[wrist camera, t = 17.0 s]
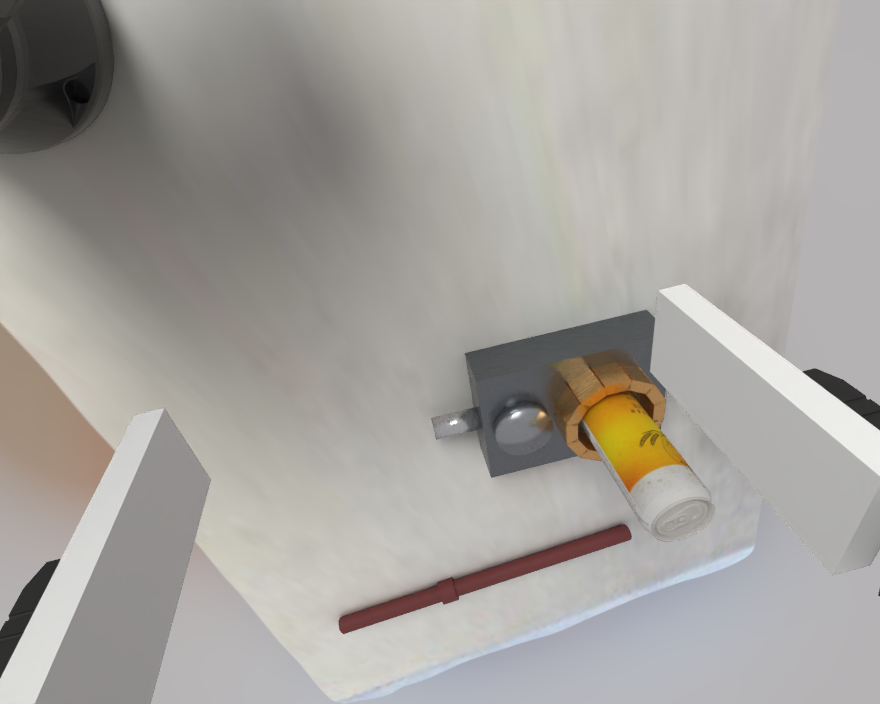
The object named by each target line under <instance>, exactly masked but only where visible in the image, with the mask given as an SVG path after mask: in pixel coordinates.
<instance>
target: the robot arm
mask: <svg viewBox="0 0 880 704" xmlns="http://www.w3.org/2000/svg"><path fill="white" fill-rule="evenodd" d="M112 77H113V49H112V42H111V37H110V32H109V28H108V25H107V21H106V18H105V15H104V12H103V9H102V7H101V4H100V2H99V0H0V153H2V154H18V153H29V152H35V151H40V150H44V149H47V148H50V147H53V146H55V145H58V144H60V143H62V142H64V141H67V140H69V139H71V138H73V137H75V136H76V135H78V134H80V133H81V132H82V131H84V130H85V129H86V128H87V127H88V126H90V125H91V123H92V122H93V121H94V120H95V119H96V118H97V116H98V115H99V114H100V112H101V110H102V109H103V107H104V105H105V103H106V100H107V98H108V95H109V92H110V88H111V83H112ZM650 372H651V373H652V374H653V375H654V377H655V378H656V379H657V380H658V381H659V382H660V383H661V384H662V385H663V387H664V388H665V389H666V390H667V391H668V392H669V393H670V394H671V396H672V397H673V398H674V399H675V400H676V401H677V402H678V403H679V404H680V406H681V407H682V408H683V409H684V410H685V411H686V412H687V413H688V415H689V416H690V417H691V418H692V419H693V420H694V421H695V422H696V423H697V425H698V426H699V427H700V428H701V429H702V430H703V431H704V432H705V434H706V435H707V436H708V437H709V438H710V439H711V440H712V441H713V442H714V444H715V445H716V446H717V447H718V448H719V449H720V450H721V451H722V453H723V454H724V455H725V456H726V457H727V458H728V459H729V460H730V461H731V463H732V464H733V465H734V466H735V467H736V468H737V469H738V470H739V472H740V473H741V474H742V475H743V476H744V477H745V478H746V479H747V480H748V482H749V483H750V484H751V485H752V486H753V487H754V488H755V489H756V491H757V492H758V493H759V494H760V495H761V496H762V497H763V498H764V499H765V501H766V502H767V503H768V504H769V505H770V506H771V507H772V508H773V510H774V511H775V512H776V513H777V514H778V515H779V516H780V517H781V518H782V519H783V521H784V522H785V523H786V524H787V525H788V526H789V527H790V529H791V530H792V531H793V532H794V533H795V534H796V535H797V536H798V537H799V538H800V540H801V541H802V542H803V543H804V544H805V545H806V546H807V548H808V549H809V550H810V551H811V552H812V553H813V554H814V555H815V556H816V558H817V559H818V560H819V561H820V562H821V563H822V564H823V565H824V567H825V568H826V569H827V570H828V571H829V572H830V573H831V574H832V575H837V574H840V573H844V572H848V571H851V570H855V569H859V568H862V567H866V566H870V565H871V564H872V562H873V560H874V558H875V557H876V555H877V553H878V552H879V550H880V406H879V405H878V404H877V403H875V402H873V401H872V400H871V399H870V400H867V399H866V396H865V395H864V394H862V393H861V392H859V391H858V390H857V389H855V388H854V387H853V386H851V385H850V384H848V383H847V382H845V381H844V380H842V379H840V378H837V377H835V376H832V375H830V374H827V373H825V372H823V371H820V370H818V369H811V370H807V371H803V372H801V371H800V370H799V369H798V368H796V367H795V366H794V365H792V364H791V363H790V362H788V361H787V360H786V359H784V358H783V357H782V356H780V355H779V354H778V353H776V352H775V351H774V350H772V349H771V348H770V347H768V346H767V345H766V344H764V343H763V342H762V341H760V340H759V339H758V338H756V337H755V336H754V335H752V334H751V333H750V332H749V331H747V330H746V329H745V328H743V327H742V326H741V325H739V324H738V323H737V322H735V321H734V320H733V319H731V318H730V317H729V316H727V315H726V314H725V313H723V312H722V311H721V310H719V309H718V308H717V307H715V306H714V305H713V304H711V303H710V302H709V301H707V300H706V299H705V298H703V297H702V296H701V295H699V294H698V293H697V292H696V291H694V290H693V289H692V288H690V287H689V286H688V285H686V284H682V285H678V286H674V287H670V288H666V289H661V290H658V296H657V306H656V316H655V326H654V336H653V346H652V356H651V366H650ZM210 481H211V479H210V477H209V476H208V474H207V473H206V471H205V470H204V468H203V467H202V465H201V463H200V462H199V460H198V459H197V457H196V456H195V454H194V453H193V451H192V450H191V448H190V446H189V445H188V443H187V442H186V440H185V439H184V437H183V436H182V434H181V433H180V431H179V429H178V428H177V426H176V425H175V423H174V422H173V420H172V419H171V417H170V416H169V414H168V412H167V411H166V409H165V408H161V409H157V410H153V411H149V412H145V413H140V414H136V415H134V416H133V418H132V420H131V422H130V424H129V426H128V428H127V430H126V432H125V434H124V436H123V438H122V440H121V442H120V444H119V446H118V448H117V450H116V452H115V454H114V456H113V458H112V460H111V462H110V464H109V466H108V467H107V470H106V471H105V474H104V475H103V477H102V479H101V481H100V483H99V485H98V487H97V489H96V491H95V493H94V495H93V497H92V499H91V501H90V503H89V505H88V507H87V509H86V511H85V513H84V515H83V517H82V519H81V521H80V523H79V525H78V527H77V528H76V530H75V532H74V534H73V536H72V538H71V540H70V542H69V544H68V546H67V548H66V550H65V552H64V554H63V556H62V558H61V559H58V560H54V561H50V562H47V563H46V564H45V565H44V566H43V567H42V568H41V569H40V571H39V572H38V573H37V574H36V575H35V576H34V577H33V578H32V580H31V581H30V582H29V583H28V584H27V585H26V586H25V588H24V589H23V590H22V592H21V594H20V596H19V598H18V600H17V601H16V603H15V605H14V607H13V609H12V611H11V612H10V614H9V620H8V621H6V622H5V623H4V625H3V627H2V629H1V631H0V704H150V703H151V700H152V696H153V693H154V689H155V685H156V682H157V678H158V674H159V670H160V667H161V663H162V659H163V656H164V652H165V648H166V644H167V640H168V637H169V633H170V630H171V626H172V622H173V618H174V615H175V611H176V607H177V603H178V600H179V596H180V593H181V589H182V585H183V581H184V577H185V574H186V570H187V567H188V563H189V559H190V555H191V552H192V548H193V544H194V541H195V537H196V533H197V530H198V526H199V522H200V518H201V515H202V511H203V507H204V504H205V500H206V496H207V492H208V489H209V485H210ZM879 596H880V590H879Z"/></svg>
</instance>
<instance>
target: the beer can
mask: <svg viewBox="0 0 880 704" xmlns="http://www.w3.org/2000/svg"><path fill="white" fill-rule="evenodd" d="M579 423H580V424H581V426H582V428H583V429H584V431H585V433H586V434H587V436H588V438H589V439H590V441H591V443H592V444H593V446H594V447H595V449H596V451H597V452H598V454H599V456H600V457H601V459H602V461H603V462H604V464H605V465H606V467H607V469H608V470H609V472H610V474H611V475H612V477H613V479H614V480H615V482H616V484H617V485H618V487H619V488H620V490H621V492H622V493H623V495H624V497H625V498H626V500H627V502H628V503H629V505H630V506H631V508H632V510H633V511H634V513H635V515H636V516H637V518H638V520H639V521H640V523H641V525H642V526H643V528H644V529H645V530H647V531H648V532H650V533H651V534H653V535H654V536H655V537H656V538H657V539H658V540H661V541H665V542H673V541H679V540H682V539H685V538H688V537H690V536H692V535H694V534H696V533H697V532H699V531H700V530H702V529H703V528H704V527H705V526H706V525H707V524H708V523H709V522H710V521H711V519H712V517H713V515H714V511H715V508H714V505H713V504H712V500H711V495H710V492H709V490H708V489H707V488H706V487H705V485H704V484H703V483H702V482H701V480H700V479H699V478H698V477H697V475H696V474H695V473H694V471H693V470H692V469H691V468H690V466H689V465H688V464H687V463H686V461H685V460H684V459H683V458H682V456H681V455H680V454H679V453H678V451H677V450H676V449H675V448H674V446H673V445H672V444H671V443H670V441H669V440H668V439H667V438H666V436H665V435H664V434H663V433H662V431H661V430H660V429H659V428H658V426H657V425H656V424H655V423H654V421H653V420H652V419H651V418H650V416H649V415H648V414H647V412H646V411H645V410H644V409H643V407H642V406H641V405H640V404H639V402H638V401H637V400H636V399H635V397H634V396H633V395H632V394H631V392H630V391H629V390H627V391H622V392H618V393H614V394H610V395H607V396H605V397H604V398H602V399H601V400H599V401H598V402H597V403H595V404H594V405H592V406H591V407H589V408H588V410H587V411H586V413H585V414H584V416H583V417H582V419H581V421H580V422H579Z"/></svg>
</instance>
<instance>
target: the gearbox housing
mask: <svg viewBox="0 0 880 704" xmlns="http://www.w3.org/2000/svg"><path fill="white" fill-rule="evenodd" d="M654 326H655V318H654V317H653V316H652V315H651V314H650V313H649V312H648V311H647V310H644V311H640V312H636V313H632V314H628V315H623V316H619V317H615V318H611V319H607V320H603V321H598V322H594V323H590V324H586V325H582V326H578V327H573V328H569V329H565V330H561V331H557V332H553V333H548V334H544V335H540V336H536V337H532V338H528V339H523V340H519V341H515V342H511V343H507V344H502V345H498V346H494V347H490V348H486V349H482V350H477V351H473V352H469V353H465V357H466V363H467V369H468V375H469V381H470V387H471V393H472V399H473V405H474V408H470V409H466V410H462V411H458V412H454V413H450V414H445V415H441V416H437V417H433V418H431V419H432V423H433V428H434V432H435V436H436V440H438V439H442V438H446V437H450V436H454V435H458V434H462V433H466V432H470V431H474V430H478V434H479V440H480V446H481V449H482V452H483V455H484V458H485V461H486V464H487V467H488V470H489V473H490V476H491V478H492V477H496V476H500V475H504V474H508V473H512V472H516V471H519V470H523V469H527V468H531V467H535V466H539V465H543V464H547V463H551V462H555V461H559V460H563V459H567V458H571V457H575V456H579V457H581V458H585V459H592V460H598V461H601V460H602V459H601V457H600V456H599V454H598V452H597V451H596V449H595V447H594V446H593V444H592V443H591V441H590V439H589V438H588V436H587V434H586V433H585V431H584V429H583V428H582V426H581V424H580V423H579V422H580V421H581V419H582V417H583V416H584V414H585V413H586V411H587V410H588V408H589V407H591V406H592V405H594V404H595V403H597V402H598V401H599V400H601V399H602V398H604V397H605V396H607V395H610V394H614V393H618V392H622V391H627V390H629V391H630V392H631V394H632V395H633V396H634V397H635V399H636V400H637V401H638V402H639V404H640V405H641V406H642V407H643V409H644V410H645V411H646V412H647V414H648V415H649V416H650V418H651V419H652V420H653V421H654V423H655V424H656V425H657V426H658V428H659V429H661V423H662V422H663V420H664V413H665V405H666V399H665V398H664V397H665V388H664V387H663V385H662V384H661V383H660V382H659V381H658V380H657V379H656V378H655V377H654V375H653V374H652V373H651V372H650V366H651V356H652V346H653V336H654Z"/></svg>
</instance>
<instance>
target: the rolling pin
mask: <svg viewBox="0 0 880 704" xmlns="http://www.w3.org/2000/svg"><path fill="white" fill-rule="evenodd" d="M631 538H632V536H631V533H630V530H629V528H628V527H627V526H626V525H625V524H623V525H620V526H617V527H614V528H611V529H608V530H605V531H602V532H599V533H596V534H593V535H590V536H587V537H584V538H581V539H578V540H575V541H572V542H569V543H566V544H563V545H559V546H556V547H553V548H550V549H547V550H544V551H541V552H538V553H535V554H532V555H529V556H526V557H523V558H520V559H517V560H514V561H511V562H508V563H505V564H502V565H499V566H496V567H493V568H490V569H487V570H483V571H480V572H477V573H474V574H471V575H468V576H465V577H462V578H459V579H456V580H453V578H449V579H446V580H443V581H440V582H438V586H435V587H432V588H429V589H426V590H423V591H420V592H417V593H414V594H411V595H407V596H404V597H401V598H398V599H395V600H392V601H389V602H386V603H383V604H380V605H377V606H374V607H371V608H368V609H365V610H362V611H359V612H356V613H353V614H350V615H347V616H344V617H341V618H340V619H339V629H340V631H341V633H343V634H345V633H348V632H351V631H354V630H357V629H360V628H363V627H366V626H369V625H373V624H376V623H379V622H382V621H385V620H388V619H391V618H394V617H397V616H400V615H403V614H406V613H409V612H412V611H415V610H418V609H421V608H424V607H427V606H430V605H433V604H436V603H440V602H443V604H447V603H450V602H453V601H456V600H459V596H461V595H464V594H467V593H470V592H473V591H476V590H479V589H482V588H485V587H488V586H491V585H494V584H497V583H500V582H503V581H506V580H510V579H513V578H516V577H519V576H522V575H525V574H528V573H531V572H534V571H537V570H540V569H543V568H546V567H549V566H552V565H555V564H558V563H561V562H564V561H567V560H570V559H573V558H576V557H580V556H583V555H586V554H589V553H592V552H595V551H598V550H601V549H604V548H607V547H610V546H613V545H616V544H619V543H622V542H625V541H628V540H631Z"/></svg>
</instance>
